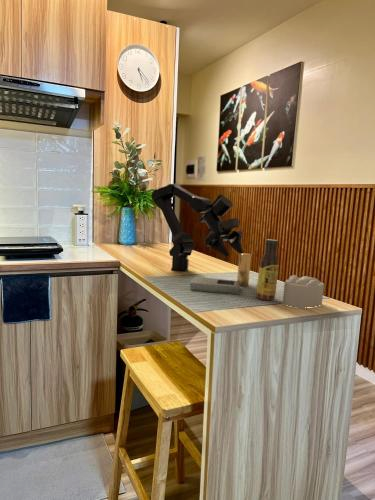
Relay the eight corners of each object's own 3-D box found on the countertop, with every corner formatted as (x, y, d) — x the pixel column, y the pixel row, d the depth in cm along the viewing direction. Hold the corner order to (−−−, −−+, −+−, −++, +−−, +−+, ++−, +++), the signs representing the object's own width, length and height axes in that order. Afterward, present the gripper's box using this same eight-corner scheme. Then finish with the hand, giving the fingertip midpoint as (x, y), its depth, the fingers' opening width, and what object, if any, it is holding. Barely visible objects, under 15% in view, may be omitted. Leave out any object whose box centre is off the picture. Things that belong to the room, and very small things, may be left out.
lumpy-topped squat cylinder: (326, 305, 120) (329, 279, 119) (300, 310, 113) (303, 283, 111) (300, 297, 128) (302, 272, 127) (274, 301, 121) (276, 275, 120)
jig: (190, 289, 130) (190, 282, 129) (194, 283, 139) (194, 276, 139) (238, 294, 127) (239, 287, 127) (239, 287, 137) (240, 281, 136)
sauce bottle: (263, 301, 120) (269, 241, 117) (252, 296, 125) (257, 238, 122) (279, 300, 123) (285, 240, 120) (267, 295, 128) (272, 238, 125)
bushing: (236, 285, 139) (239, 254, 137) (237, 283, 143) (239, 252, 142) (248, 287, 138) (251, 255, 137) (248, 284, 143) (251, 253, 141)
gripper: (212, 210, 136) (234, 243, 131) (241, 210, 150) (262, 240, 144) (195, 229, 143) (215, 262, 137) (224, 228, 156) (244, 257, 151)
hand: (235, 255), depth 142 cm, fingers open, 9 cm apart
